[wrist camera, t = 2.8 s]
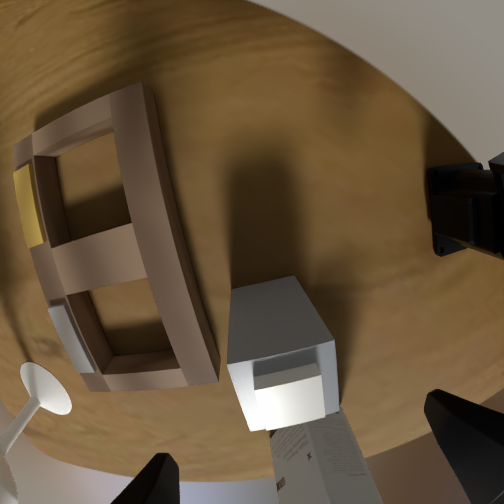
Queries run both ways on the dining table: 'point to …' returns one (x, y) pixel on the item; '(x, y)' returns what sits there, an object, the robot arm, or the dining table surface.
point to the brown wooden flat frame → (115, 247)
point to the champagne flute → (42, 394)
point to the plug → (280, 355)
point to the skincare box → (321, 464)
